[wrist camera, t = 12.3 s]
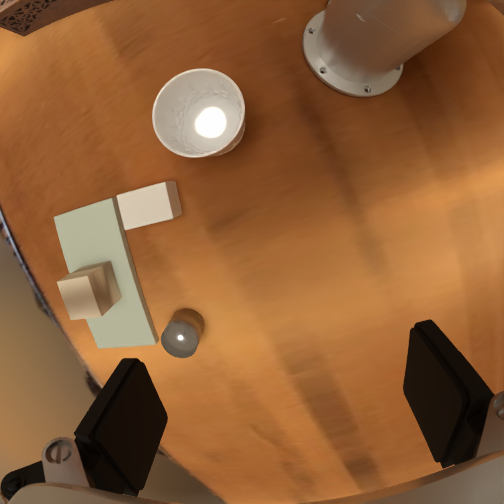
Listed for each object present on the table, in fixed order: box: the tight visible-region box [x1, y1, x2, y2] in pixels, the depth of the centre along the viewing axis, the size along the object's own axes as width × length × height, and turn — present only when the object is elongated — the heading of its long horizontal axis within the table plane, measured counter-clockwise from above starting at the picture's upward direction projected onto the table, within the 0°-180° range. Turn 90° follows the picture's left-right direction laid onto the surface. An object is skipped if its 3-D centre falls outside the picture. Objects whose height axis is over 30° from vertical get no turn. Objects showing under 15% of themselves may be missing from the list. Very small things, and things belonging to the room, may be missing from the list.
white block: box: [117, 181, 183, 230], centre depth 33 cm, size 4×6×4 cm, turn 101°
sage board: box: [54, 197, 159, 349], centre depth 38 cm, size 20×10×1 cm, turn 11°
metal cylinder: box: [161, 308, 204, 358], centre depth 37 cm, size 4×4×5 cm
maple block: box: [57, 261, 122, 320], centre depth 34 cm, size 5×5×6 cm
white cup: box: [152, 69, 246, 158], centre depth 28 cm, size 8×8×10 cm
